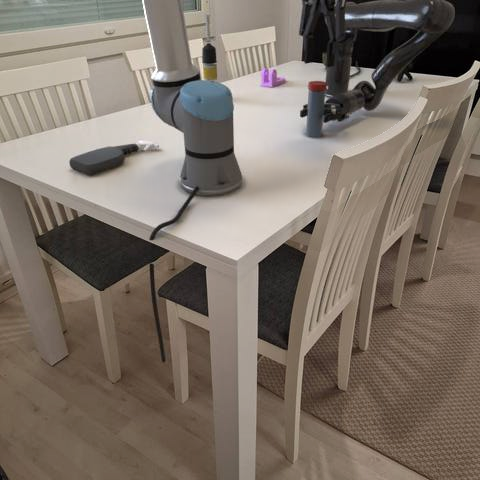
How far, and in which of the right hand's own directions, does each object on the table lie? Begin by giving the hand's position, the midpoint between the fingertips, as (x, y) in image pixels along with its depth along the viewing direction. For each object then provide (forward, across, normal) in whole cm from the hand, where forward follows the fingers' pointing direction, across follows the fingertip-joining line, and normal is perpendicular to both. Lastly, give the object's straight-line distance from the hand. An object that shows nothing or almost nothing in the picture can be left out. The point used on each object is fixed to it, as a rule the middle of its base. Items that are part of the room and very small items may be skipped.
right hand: (312, 116), depth 136 cm
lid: (-2, 0, -9) cm, 9 cm away
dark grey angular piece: (-88, -13, +6) cm, 89 cm away
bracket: (-47, -53, +6) cm, 71 cm away
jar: (-2, 0, +6) cm, 6 cm away
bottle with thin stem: (-11, -56, +6) cm, 58 cm away
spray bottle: (+51, -30, +6) cm, 59 cm away
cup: (-86, -50, +6) cm, 100 cm away
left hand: (-2, 0, -15) cm, 15 cm away
